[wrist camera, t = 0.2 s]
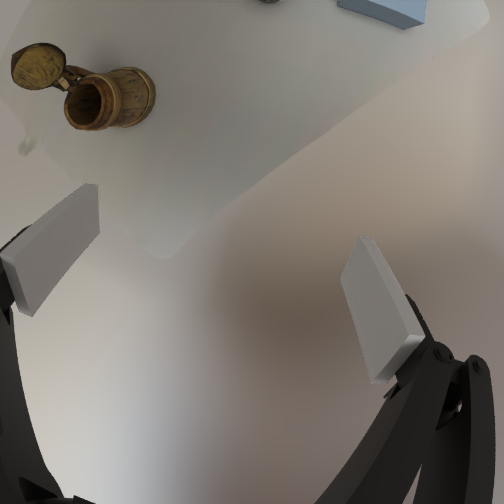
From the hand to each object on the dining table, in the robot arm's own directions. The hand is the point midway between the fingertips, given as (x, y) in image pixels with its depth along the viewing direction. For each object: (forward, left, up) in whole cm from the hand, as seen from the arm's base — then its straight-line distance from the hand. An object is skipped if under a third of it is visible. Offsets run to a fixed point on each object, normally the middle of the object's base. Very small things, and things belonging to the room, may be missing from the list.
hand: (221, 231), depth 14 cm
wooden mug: (-6, -19, -28) cm, 34 cm away
